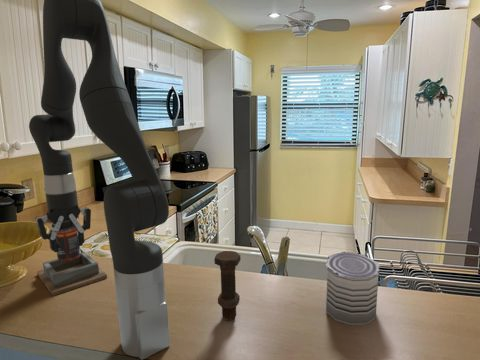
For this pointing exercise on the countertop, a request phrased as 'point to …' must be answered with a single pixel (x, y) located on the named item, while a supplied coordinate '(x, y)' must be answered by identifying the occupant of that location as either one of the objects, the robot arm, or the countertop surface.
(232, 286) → the bolt
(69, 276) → the socket board
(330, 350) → the countertop surface
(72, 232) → the supplement bottle
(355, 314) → the can
